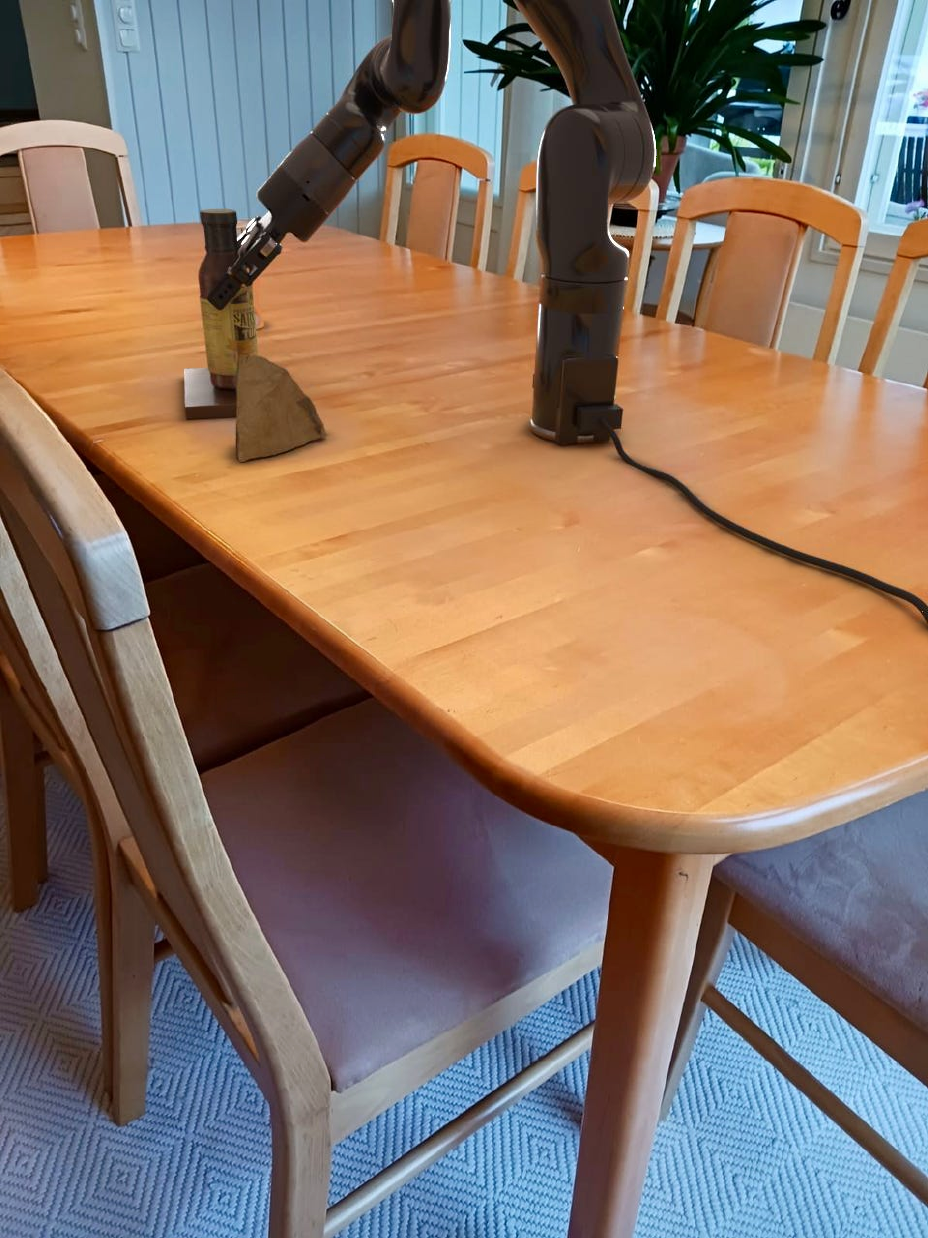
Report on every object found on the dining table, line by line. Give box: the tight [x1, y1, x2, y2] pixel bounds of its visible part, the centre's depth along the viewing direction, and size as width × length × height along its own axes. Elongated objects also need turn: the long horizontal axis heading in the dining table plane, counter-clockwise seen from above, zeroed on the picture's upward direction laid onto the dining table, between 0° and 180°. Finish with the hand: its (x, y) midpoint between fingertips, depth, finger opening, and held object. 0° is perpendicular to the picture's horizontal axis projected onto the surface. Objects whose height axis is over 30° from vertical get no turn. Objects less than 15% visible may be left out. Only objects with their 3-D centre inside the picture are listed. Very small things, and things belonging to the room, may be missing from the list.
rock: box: [235, 355, 327, 463], centre depth 100 cm, size 11×9×10 cm
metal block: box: [183, 367, 237, 420], centre depth 117 cm, size 16×12×2 cm
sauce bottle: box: [198, 208, 260, 389], centre depth 111 cm, size 6×6×20 cm
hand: (212, 297), depth 111 cm, fingers closed on sauce bottle, 6 cm apart
